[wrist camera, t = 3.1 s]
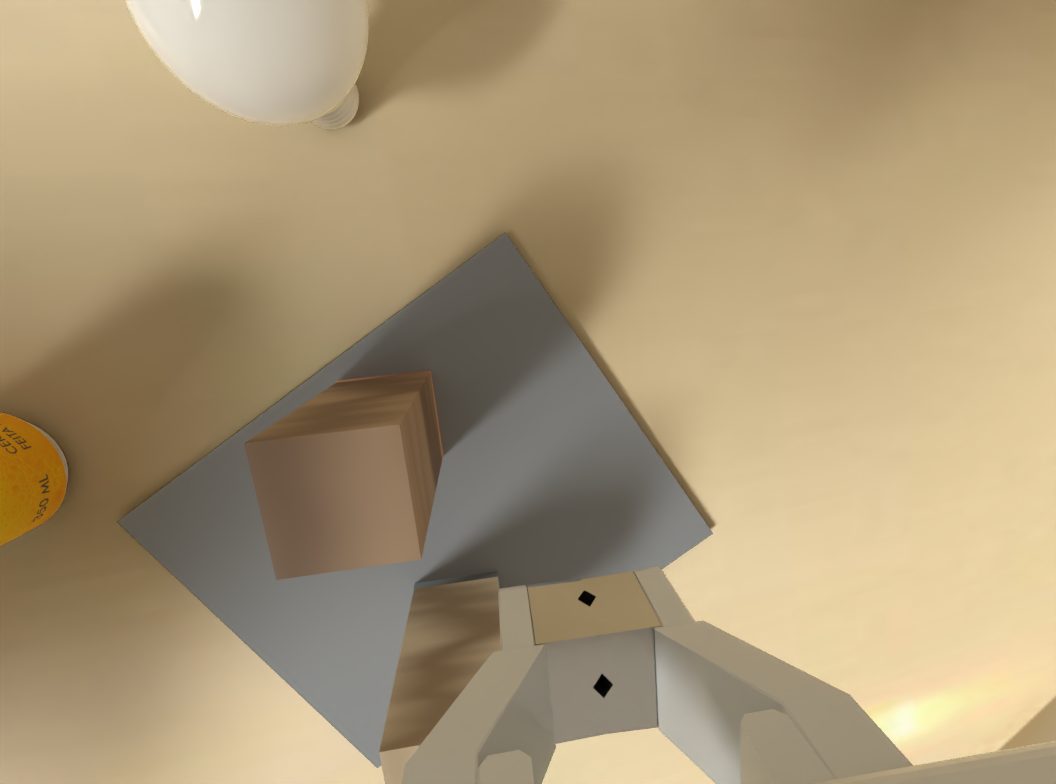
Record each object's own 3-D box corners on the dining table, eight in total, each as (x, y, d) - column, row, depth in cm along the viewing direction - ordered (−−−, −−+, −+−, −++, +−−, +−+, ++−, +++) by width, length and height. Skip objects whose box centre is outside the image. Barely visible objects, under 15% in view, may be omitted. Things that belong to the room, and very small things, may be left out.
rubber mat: (378, 761, 29) (377, 767, 29) (122, 518, 25) (116, 521, 24) (709, 530, 28) (713, 533, 28) (504, 233, 24) (505, 232, 23)
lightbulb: (231, 120, 22) (-10, -44, 11) (301, -13, 21) (118, -327, 10) (359, 205, 23) (255, 133, 12) (430, 83, 22) (387, -109, 12)
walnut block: (431, 370, 24) (400, 423, 15) (443, 456, 25) (422, 559, 16) (338, 380, 24) (243, 442, 14) (354, 467, 25) (275, 580, 15)
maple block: (497, 571, 27) (508, 729, 17) (506, 642, 28) (521, 829, 18) (414, 583, 27) (378, 751, 17) (426, 654, 28) (398, 853, 18)
